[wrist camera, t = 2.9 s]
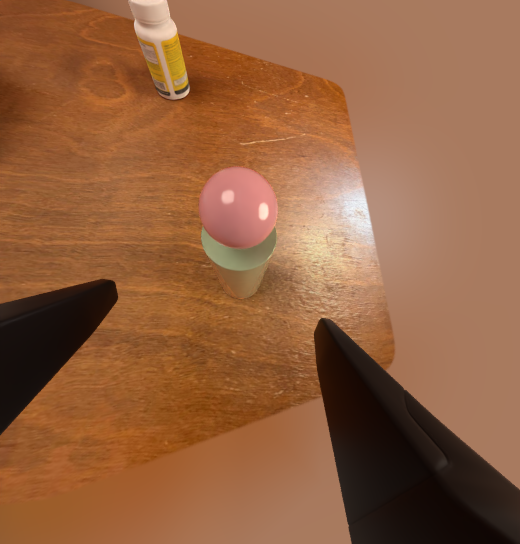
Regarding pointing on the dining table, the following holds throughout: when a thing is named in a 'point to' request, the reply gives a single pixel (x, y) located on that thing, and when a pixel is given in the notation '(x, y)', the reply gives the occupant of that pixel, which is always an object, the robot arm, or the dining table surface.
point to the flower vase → (238, 228)
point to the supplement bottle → (160, 47)
